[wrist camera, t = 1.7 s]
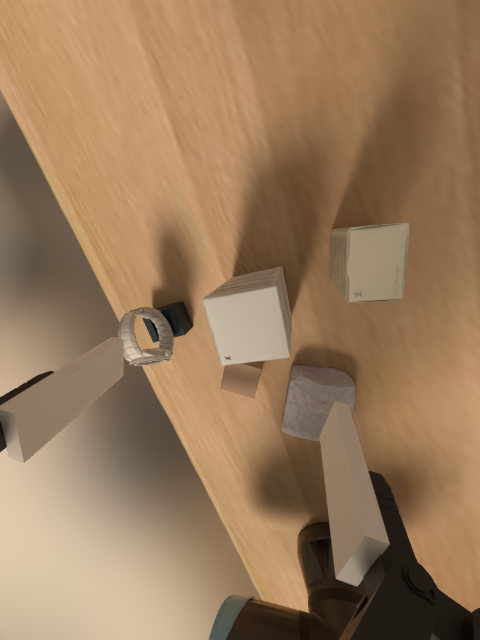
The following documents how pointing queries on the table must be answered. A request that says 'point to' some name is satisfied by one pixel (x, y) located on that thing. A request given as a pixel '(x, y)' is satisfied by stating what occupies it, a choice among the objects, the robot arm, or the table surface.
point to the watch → (154, 332)
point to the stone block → (314, 399)
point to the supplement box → (251, 317)
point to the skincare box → (369, 262)
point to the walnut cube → (242, 378)
